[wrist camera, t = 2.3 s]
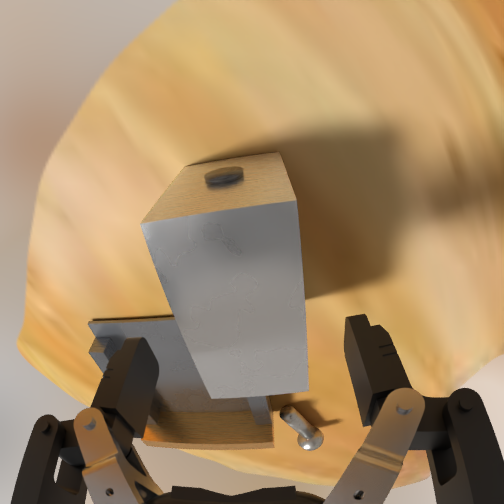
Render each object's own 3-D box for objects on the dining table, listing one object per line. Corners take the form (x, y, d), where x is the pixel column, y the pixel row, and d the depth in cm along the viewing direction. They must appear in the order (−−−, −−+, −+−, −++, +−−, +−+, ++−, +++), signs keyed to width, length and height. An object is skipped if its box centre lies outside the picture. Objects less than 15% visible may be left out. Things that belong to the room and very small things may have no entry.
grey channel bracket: (88, 321, 21) (69, 358, 18) (250, 309, 20) (250, 355, 17) (153, 415, 29) (147, 445, 25) (273, 413, 27) (274, 447, 24)
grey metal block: (183, 162, 15) (137, 216, 9) (278, 147, 15) (296, 192, 9) (221, 311, 20) (211, 398, 14) (295, 303, 20) (308, 390, 14)
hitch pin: (273, 409, 27) (274, 433, 25) (300, 402, 26) (302, 426, 24) (299, 432, 30) (301, 453, 28) (322, 426, 29) (325, 447, 27)
